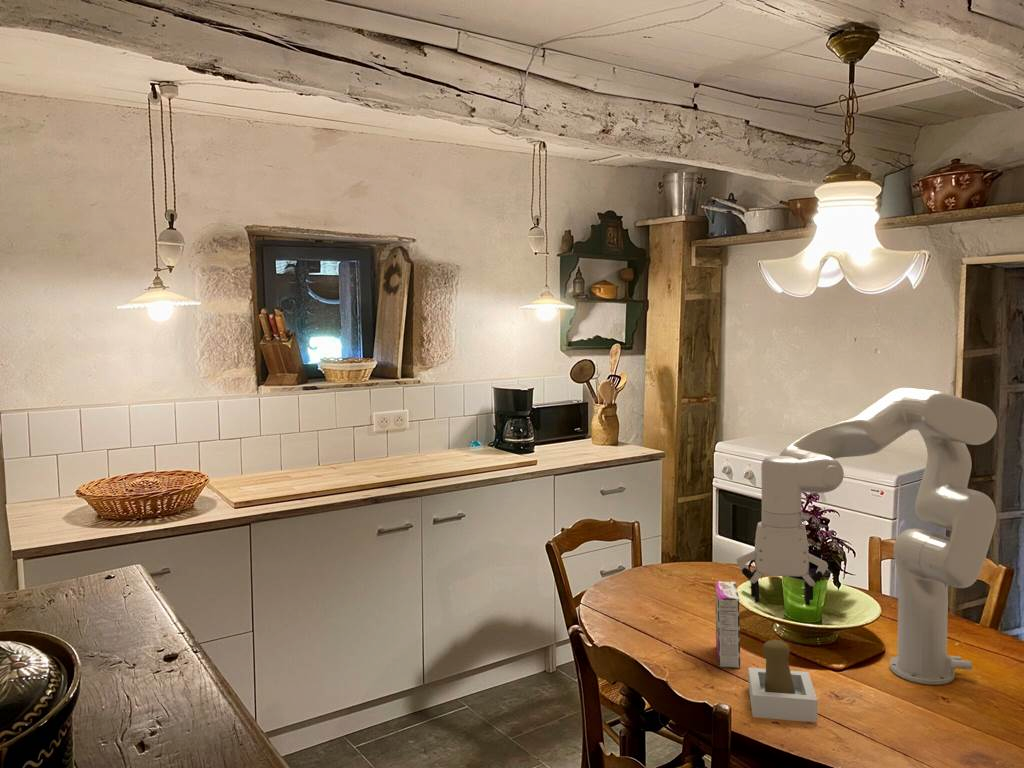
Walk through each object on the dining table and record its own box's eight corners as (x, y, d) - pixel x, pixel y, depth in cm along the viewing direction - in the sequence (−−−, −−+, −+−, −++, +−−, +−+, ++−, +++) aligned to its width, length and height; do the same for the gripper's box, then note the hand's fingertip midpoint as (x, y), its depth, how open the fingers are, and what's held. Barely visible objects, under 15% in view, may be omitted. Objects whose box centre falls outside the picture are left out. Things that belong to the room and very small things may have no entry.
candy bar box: (714, 646, 184) (714, 580, 183) (736, 647, 183) (736, 581, 182) (717, 667, 174) (717, 597, 172) (740, 669, 173) (740, 598, 171)
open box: (808, 694, 161) (808, 671, 161) (817, 724, 150) (817, 700, 149) (748, 689, 164) (748, 667, 164) (752, 719, 152) (752, 695, 152)
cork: (776, 686, 161) (771, 634, 161) (802, 694, 156) (797, 641, 156) (758, 696, 157) (753, 642, 157) (784, 704, 152) (778, 649, 152)
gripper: (824, 514, 155) (824, 597, 156) (735, 512, 159) (736, 592, 161) (830, 525, 148) (830, 611, 149) (737, 522, 152) (737, 606, 153)
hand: (781, 601), depth 155 cm, fingers open, 9 cm apart
